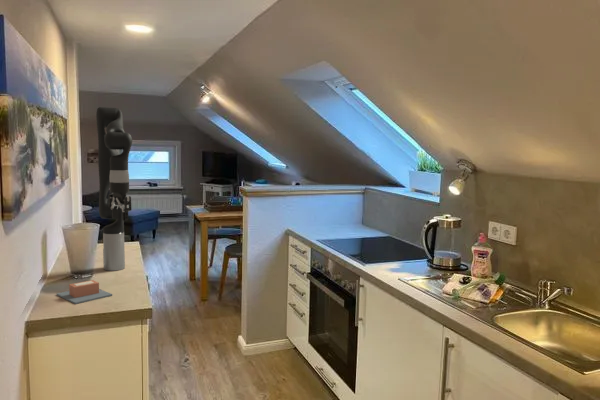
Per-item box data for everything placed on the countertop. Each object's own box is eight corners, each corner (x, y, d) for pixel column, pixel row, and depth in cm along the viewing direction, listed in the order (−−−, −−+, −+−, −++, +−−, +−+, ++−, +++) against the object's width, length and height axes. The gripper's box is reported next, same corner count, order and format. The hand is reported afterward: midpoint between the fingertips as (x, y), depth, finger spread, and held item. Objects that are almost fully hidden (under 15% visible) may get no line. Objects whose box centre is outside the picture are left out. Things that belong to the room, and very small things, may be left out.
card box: (93, 289, 185) (93, 279, 184) (99, 293, 181) (98, 282, 180) (69, 294, 178) (69, 284, 178) (74, 297, 174) (74, 287, 174)
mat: (56, 295, 179) (56, 293, 179) (92, 287, 190) (92, 285, 190) (75, 304, 169) (75, 302, 169) (112, 295, 180) (112, 294, 180)
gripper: (136, 181, 192) (137, 220, 194) (119, 179, 201) (120, 216, 203) (119, 182, 186) (120, 223, 188) (102, 180, 195) (103, 218, 197)
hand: (120, 219), depth 195 cm, fingers open, 8 cm apart
